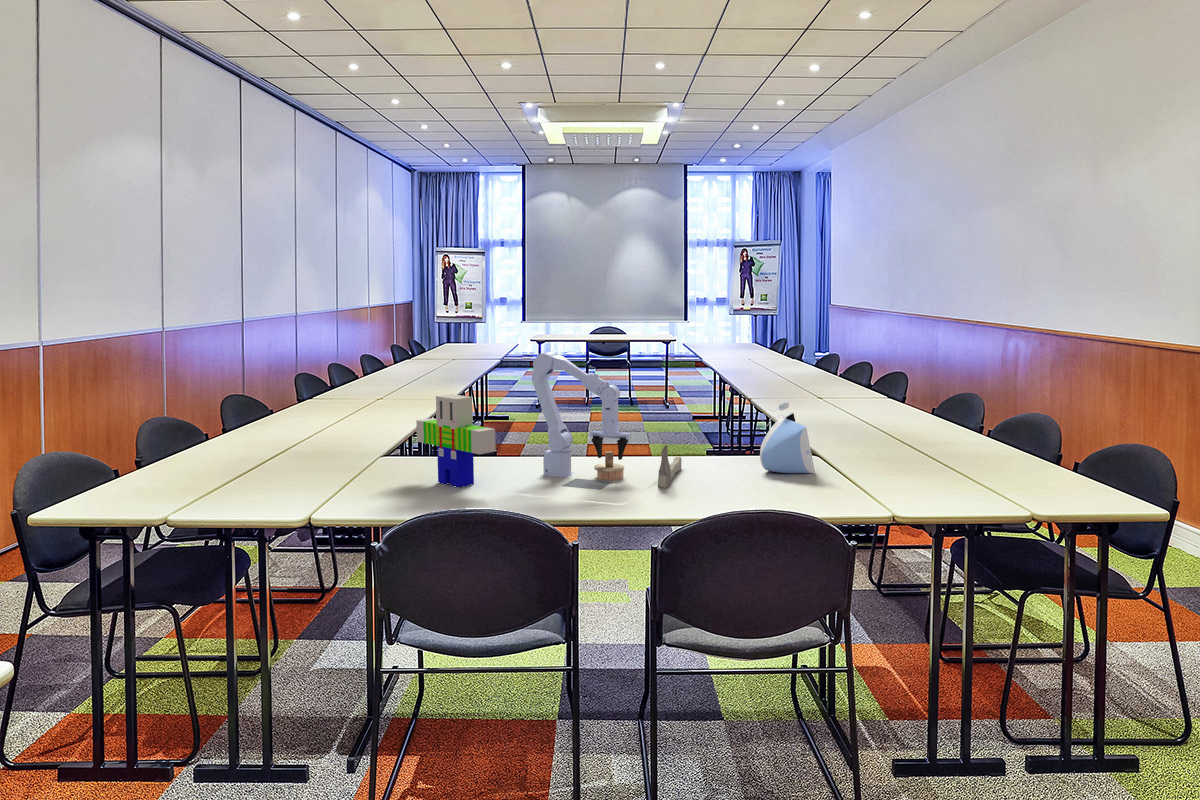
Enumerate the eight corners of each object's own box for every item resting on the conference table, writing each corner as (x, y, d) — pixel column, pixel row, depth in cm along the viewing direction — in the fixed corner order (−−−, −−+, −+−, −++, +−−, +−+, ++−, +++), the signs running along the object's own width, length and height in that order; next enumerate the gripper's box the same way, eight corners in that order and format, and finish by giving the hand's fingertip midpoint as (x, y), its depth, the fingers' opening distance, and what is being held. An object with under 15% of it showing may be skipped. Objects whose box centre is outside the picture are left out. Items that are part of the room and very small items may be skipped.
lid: (589, 470, 312) (589, 453, 311) (601, 464, 321) (601, 448, 320) (617, 472, 308) (617, 456, 307) (628, 467, 317) (628, 450, 316)
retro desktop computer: (789, 397, 336) (823, 402, 322) (800, 454, 342) (834, 461, 328) (740, 423, 323) (773, 429, 309) (753, 481, 330) (786, 490, 316)
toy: (418, 477, 317) (415, 393, 313) (433, 474, 322) (431, 391, 318) (480, 493, 294) (478, 402, 290) (496, 489, 299) (494, 400, 295)
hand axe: (666, 490, 298) (666, 449, 297) (656, 489, 299) (656, 448, 297) (683, 472, 332) (683, 435, 331) (674, 471, 333) (674, 434, 331)
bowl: (593, 479, 313) (593, 469, 313) (603, 474, 321) (603, 464, 321) (617, 482, 310) (617, 471, 309) (626, 476, 318) (626, 466, 317)
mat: (561, 487, 302) (561, 485, 302) (575, 480, 313) (575, 478, 313) (600, 491, 297) (600, 489, 297) (613, 483, 308) (613, 481, 307)
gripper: (586, 420, 312) (586, 458, 314) (625, 422, 306) (625, 462, 308) (594, 417, 318) (594, 455, 320) (632, 419, 313) (632, 458, 315)
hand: (610, 458), depth 315 cm, fingers open, 7 cm apart
